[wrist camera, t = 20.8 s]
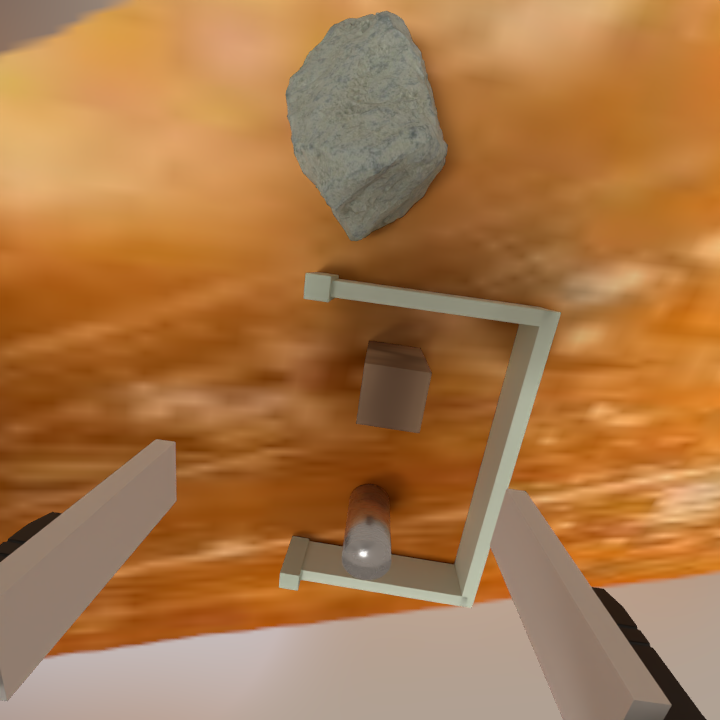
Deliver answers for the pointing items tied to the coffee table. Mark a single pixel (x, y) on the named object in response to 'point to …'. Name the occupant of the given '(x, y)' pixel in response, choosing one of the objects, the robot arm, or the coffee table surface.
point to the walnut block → (393, 387)
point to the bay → (497, 464)
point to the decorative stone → (366, 122)
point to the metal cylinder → (367, 533)
